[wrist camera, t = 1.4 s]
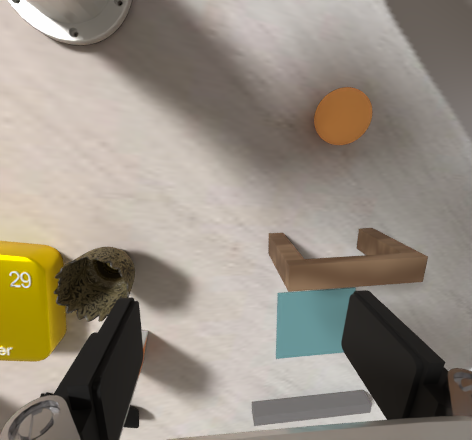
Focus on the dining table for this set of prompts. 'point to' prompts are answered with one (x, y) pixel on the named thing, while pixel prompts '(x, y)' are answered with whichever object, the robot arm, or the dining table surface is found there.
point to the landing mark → (311, 322)
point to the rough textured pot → (95, 282)
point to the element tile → (29, 301)
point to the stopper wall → (310, 407)
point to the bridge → (348, 264)
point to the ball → (343, 116)
